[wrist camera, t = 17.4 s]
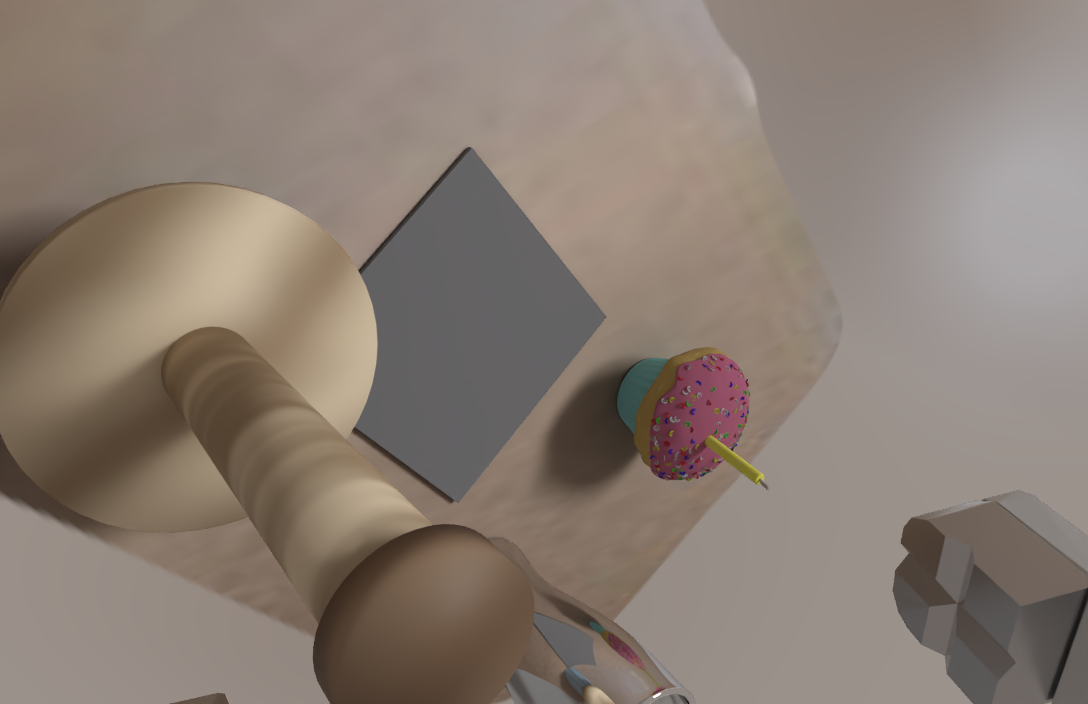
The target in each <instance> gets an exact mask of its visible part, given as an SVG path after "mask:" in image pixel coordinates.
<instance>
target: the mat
mask: <svg viewBox="0 0 1088 704" xmlns="http://www.w3.org/2000/svg"><path fill="white" fill-rule="evenodd" d="M359 273H360V275H361V277H362V279H363V281H364V283H365V285H366V288H367V291H368V293H369V296H370V299H371V302H372V305H373V310H374V315H375V320H376V327H377V343H378V345H377V360H376V368H375V373H374V378H373V383H372V386H371V389H370V393H369V396H368V399H367V402H366V404H365V406H364V409H363V411H362V413H361V415H360V417H359V420H358V422H357V423H356V425H355V427H356V428H357V429H358V430H360V431H361V432H362V433H364V434H365V435H366V436H368V437H369V438H370V439H372V440H373V441H375V442H376V443H377V444H379V445H380V446H381V447H383V448H384V449H385V450H387V451H388V452H390V453H391V454H392V455H394V456H395V457H396V458H398V459H399V460H400V461H402V462H403V463H404V464H406V465H407V466H409V467H410V468H411V469H413V470H414V471H415V472H417V473H418V474H419V475H421V476H422V477H424V478H425V479H426V480H428V481H429V482H430V483H432V484H433V485H434V486H436V487H437V488H439V489H440V490H441V491H443V492H444V493H445V494H447V495H448V496H449V497H451V498H452V499H453V500H455V501H456V502H458V503H459V501H460V500H461V499H462V498H463V496H464V495H465V494H466V493H467V491H468V490H469V489H470V488H471V486H472V485H473V484H474V483H475V481H476V480H477V479H478V478H479V476H480V475H481V474H482V472H483V471H484V470H485V469H486V467H487V466H488V465H489V464H490V462H491V461H492V460H493V459H494V457H495V456H496V455H497V454H498V452H499V451H500V450H501V449H502V447H503V446H504V445H505V444H506V442H507V441H508V440H509V439H510V437H511V436H512V435H513V434H514V432H515V431H516V430H517V429H518V427H519V426H520V425H521V424H522V422H523V421H524V420H525V419H526V417H527V416H528V415H529V414H530V412H531V411H532V410H533V408H534V407H535V406H536V405H537V403H538V402H539V401H540V400H541V398H542V397H543V396H544V395H545V393H546V392H547V391H548V390H549V388H550V387H551V386H552V385H553V383H554V382H555V381H556V380H557V378H558V377H559V376H560V375H561V373H562V372H563V371H564V370H565V368H566V367H567V366H568V365H569V363H570V362H571V361H572V360H573V358H574V357H575V356H576V355H577V353H578V352H579V351H580V350H581V348H582V347H583V346H584V344H585V343H586V342H587V341H588V339H589V338H590V337H591V336H592V334H593V333H594V332H595V331H596V329H597V328H598V327H599V326H600V324H601V323H602V322H603V321H604V319H605V318H606V316H605V315H604V313H603V312H602V311H601V310H600V308H599V307H598V306H597V305H596V303H595V302H594V301H593V299H592V298H591V297H590V296H589V294H588V293H587V292H586V291H585V289H584V288H583V287H582V286H581V284H580V283H579V282H578V281H577V279H576V278H575V277H574V276H573V274H572V273H571V272H570V271H569V269H568V268H567V267H566V266H565V264H564V263H563V262H562V261H561V259H560V258H559V257H558V255H557V254H556V253H555V252H554V250H553V249H552V248H551V247H550V245H549V244H548V243H547V242H546V240H545V239H544V238H543V237H542V235H541V234H540V233H539V232H538V230H537V229H536V228H535V227H534V225H533V224H532V223H531V222H530V220H529V219H528V218H527V216H526V215H525V214H524V213H523V211H522V210H521V209H520V208H519V206H518V205H517V204H516V203H515V201H514V200H513V199H512V198H511V196H510V195H509V194H508V193H507V191H506V190H505V189H504V188H503V186H502V185H501V184H500V183H499V181H498V180H497V179H496V177H495V176H494V175H493V174H492V172H491V171H490V170H489V169H488V167H487V166H486V165H485V164H484V162H483V161H482V160H481V159H480V157H479V156H478V155H477V154H476V152H475V151H474V150H473V149H472V148H471V147H468V148H467V150H466V151H465V152H464V153H463V154H462V155H461V156H460V158H459V159H458V160H457V161H456V162H455V163H454V164H453V166H452V167H451V168H450V169H449V170H448V171H447V172H446V174H445V175H444V176H443V177H442V178H441V179H440V180H439V182H438V183H437V184H436V185H435V186H434V187H433V188H432V190H431V191H430V192H429V193H428V194H427V195H426V196H425V197H424V199H423V200H422V201H421V202H420V203H419V204H418V205H417V207H416V208H415V209H414V210H413V211H412V212H411V213H410V215H409V216H408V217H407V218H406V219H405V220H404V221H403V223H402V224H401V225H400V226H399V227H398V228H397V229H396V231H395V232H394V233H393V234H392V235H391V236H390V237H389V239H388V240H387V241H386V242H385V243H384V244H383V245H382V247H381V248H380V249H379V250H378V251H377V252H376V253H375V255H374V256H373V257H372V258H371V259H370V260H369V261H368V262H367V264H366V265H365V266H364V267H363V268H362V269H361V270H360V272H359Z"/></svg>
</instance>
